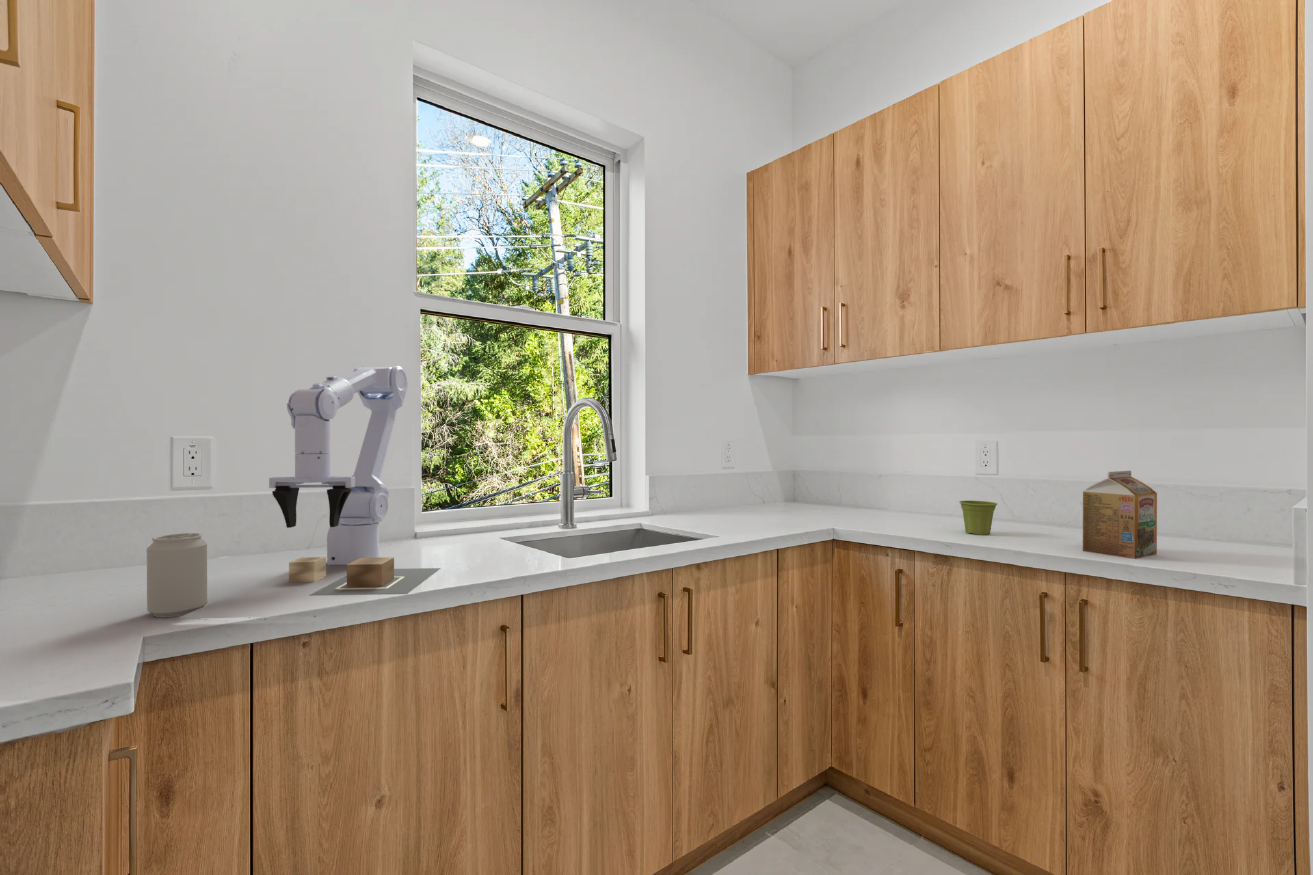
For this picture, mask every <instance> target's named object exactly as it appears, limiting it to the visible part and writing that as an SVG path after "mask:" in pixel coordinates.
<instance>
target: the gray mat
mask: <svg viewBox="0 0 1313 875" xmlns="http://www.w3.org/2000/svg"><path fill="white" fill-rule="evenodd" d="M441 569H442V568H441V567H437V568H433V567H432V568H431V567H430V568H425V567H424V568H415V567H413V568H394V579H393V580H392V581H390V582H389V583H387V584H386V585H384V586H382V587H347V575H344V577H342V578H339V579H338V580H335V581H334V582H332V583H329V584H328V585H326V586H323V587H322V588H320V589H318V590H317V591H314V592H312V593H311V594H309V596H349V595H350V596H351V595H352V596H353V595H355V596H357V595H358V596H359V595H361V596H363V595H365V596H367V595H368V596H369V595H408V594H409V593H410V592H411V591H413V590H414V589H416V588H417V587H418V586H419V585H421V584H422V583H423V582H425V581H426V580H428V579H429V578H430V577H432V576H433V575H434V574H435V573H437V572H438V571H439V570H441Z"/></svg>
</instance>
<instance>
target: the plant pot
mask: <svg viewBox="0 0 1313 875" xmlns="http://www.w3.org/2000/svg"><path fill="white" fill-rule="evenodd" d="M958 503H959V504H960V507H961V509H962V516H963V522H964V523H963V524H964V531H965V533H966V534H973V535H977V536H978V535H980V536H985V535H990V534H991V530H992V523H993V518H994V512H995V510H996V506H997V505H998V503H997V502H993V501H986V500H984V501H983V500H959V502H958Z"/></svg>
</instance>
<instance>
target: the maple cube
mask: <svg viewBox="0 0 1313 875" xmlns="http://www.w3.org/2000/svg"><path fill="white" fill-rule="evenodd" d="M326 577H327V556H322V557H321V556H318V557H316V556H308V557H307V556H306V557H303V556H301V557H299V558H297V559H294V560H291V561H288V583H315V582H317V581H319V580H321V579H323V578H326Z"/></svg>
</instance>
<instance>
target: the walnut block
mask: <svg viewBox="0 0 1313 875" xmlns="http://www.w3.org/2000/svg"><path fill="white" fill-rule="evenodd" d="M394 569H395V557H389V556H388V557H379V558H359V559H357V560H355V561H353V562H351V563H349V564H347V565H346V576H347V587H382V586H384V585H386V584H387V583H389V582H390V581H392V580H393V579H394Z"/></svg>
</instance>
